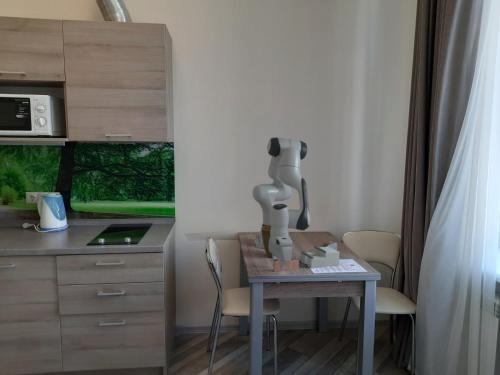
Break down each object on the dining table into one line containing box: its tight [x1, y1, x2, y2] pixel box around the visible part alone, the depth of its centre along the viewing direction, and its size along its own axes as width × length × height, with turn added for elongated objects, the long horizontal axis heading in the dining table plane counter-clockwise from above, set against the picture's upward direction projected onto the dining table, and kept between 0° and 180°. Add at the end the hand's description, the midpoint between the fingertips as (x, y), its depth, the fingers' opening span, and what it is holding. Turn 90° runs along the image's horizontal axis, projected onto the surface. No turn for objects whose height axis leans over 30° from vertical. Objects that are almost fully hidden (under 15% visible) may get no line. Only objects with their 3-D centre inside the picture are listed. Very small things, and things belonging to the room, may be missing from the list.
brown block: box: [272, 259, 300, 273], centre depth 165 cm, size 2×13×4 cm, turn 108°
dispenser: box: [300, 245, 341, 269], centre depth 175 cm, size 11×16×8 cm
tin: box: [321, 239, 339, 251], centre depth 189 cm, size 15×3×8 cm, turn 137°
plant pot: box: [260, 226, 273, 259], centre depth 187 cm, size 15×15×16 cm
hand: (278, 265), depth 164 cm, fingers open, 8 cm apart
